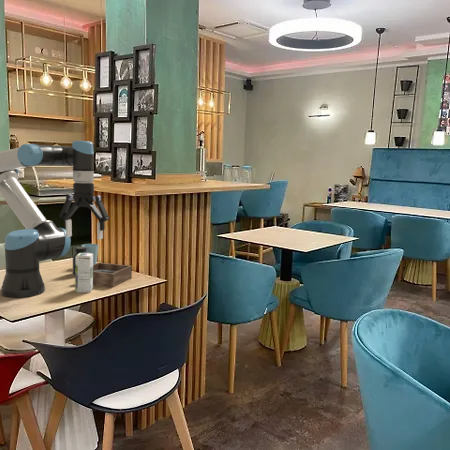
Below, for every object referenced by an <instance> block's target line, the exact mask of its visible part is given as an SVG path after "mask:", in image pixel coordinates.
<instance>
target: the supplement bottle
mask: <svg viewBox="0 0 450 450" xmlns="http://www.w3.org/2000/svg"><path fill="white" fill-rule="evenodd" d="M74 252H75V253H74V254H73V255H72V274H73V275H74V276H75V257H76V256H77V255H78V254H79V253H86V252H87V251H86V247H82V246H77V247H75V248H74Z"/></svg>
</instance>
